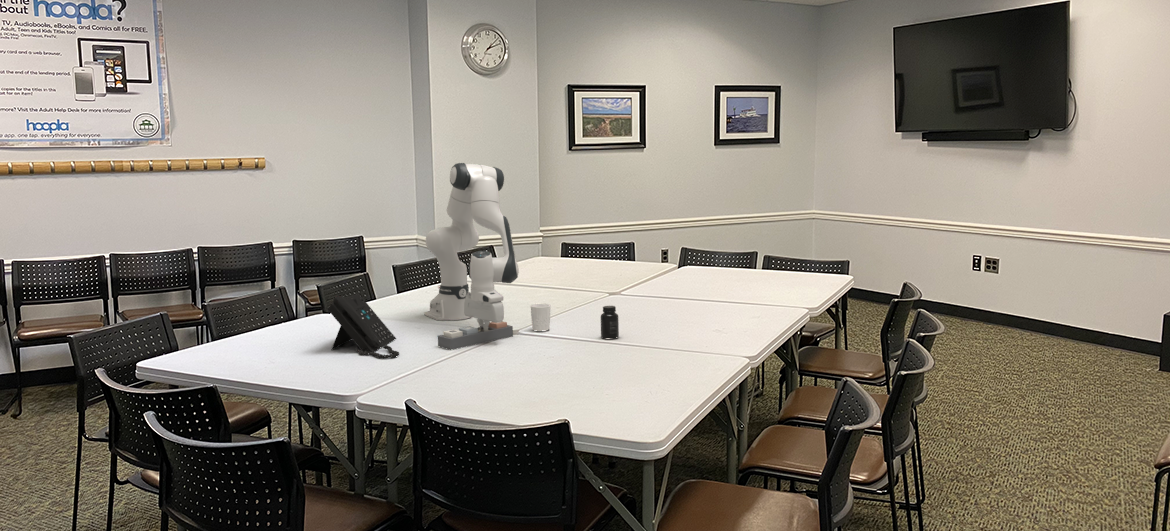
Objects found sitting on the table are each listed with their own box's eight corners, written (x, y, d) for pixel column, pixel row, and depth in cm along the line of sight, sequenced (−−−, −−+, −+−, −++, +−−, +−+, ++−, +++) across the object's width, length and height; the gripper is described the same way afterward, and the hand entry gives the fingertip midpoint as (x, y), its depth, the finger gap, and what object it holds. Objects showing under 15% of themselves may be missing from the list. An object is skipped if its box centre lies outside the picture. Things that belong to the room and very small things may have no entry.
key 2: (459, 335, 313) (458, 328, 312) (469, 332, 316) (469, 325, 316) (467, 337, 309) (466, 330, 309) (478, 334, 313) (477, 327, 312)
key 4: (488, 328, 322) (488, 322, 322) (498, 326, 326) (498, 320, 326) (496, 330, 319) (496, 324, 319) (507, 328, 322) (507, 321, 322)
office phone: (393, 360, 290) (391, 303, 287) (317, 357, 295) (314, 301, 292) (424, 340, 319) (422, 288, 316) (354, 338, 324) (351, 287, 321)
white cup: (550, 332, 329) (549, 307, 327) (530, 332, 329) (529, 307, 328) (551, 327, 337) (551, 303, 335) (531, 328, 337) (531, 303, 335)
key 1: (443, 338, 308) (443, 331, 307) (454, 336, 311) (454, 329, 311) (451, 340, 304) (451, 333, 304) (462, 338, 308) (462, 331, 307)
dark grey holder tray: (438, 346, 308) (437, 335, 308) (499, 333, 328) (499, 323, 328) (450, 349, 303) (450, 339, 302) (512, 336, 323) (512, 326, 322)
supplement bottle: (619, 335, 322) (619, 304, 320) (618, 339, 315) (618, 308, 313) (601, 335, 322) (601, 304, 321) (600, 339, 316) (599, 308, 314)
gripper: (459, 292, 321) (460, 328, 323) (493, 299, 306) (494, 336, 308) (472, 290, 325) (473, 325, 327) (506, 296, 311) (507, 333, 313)
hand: (483, 330), depth 317 cm, fingers closed, pressing on key 3
